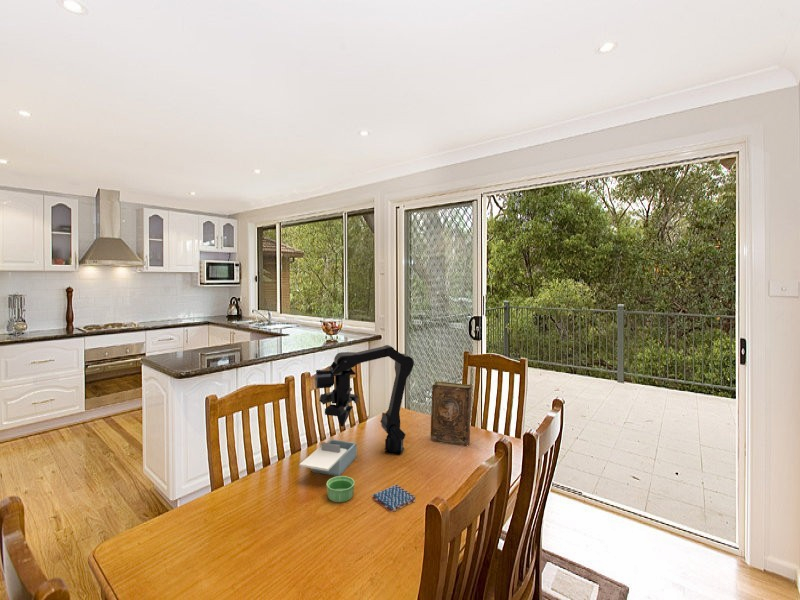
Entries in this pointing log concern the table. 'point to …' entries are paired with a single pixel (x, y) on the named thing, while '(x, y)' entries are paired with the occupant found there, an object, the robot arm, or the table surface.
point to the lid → (324, 457)
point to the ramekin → (340, 488)
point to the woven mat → (393, 498)
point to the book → (451, 413)
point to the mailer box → (344, 460)
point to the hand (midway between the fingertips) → (342, 426)
